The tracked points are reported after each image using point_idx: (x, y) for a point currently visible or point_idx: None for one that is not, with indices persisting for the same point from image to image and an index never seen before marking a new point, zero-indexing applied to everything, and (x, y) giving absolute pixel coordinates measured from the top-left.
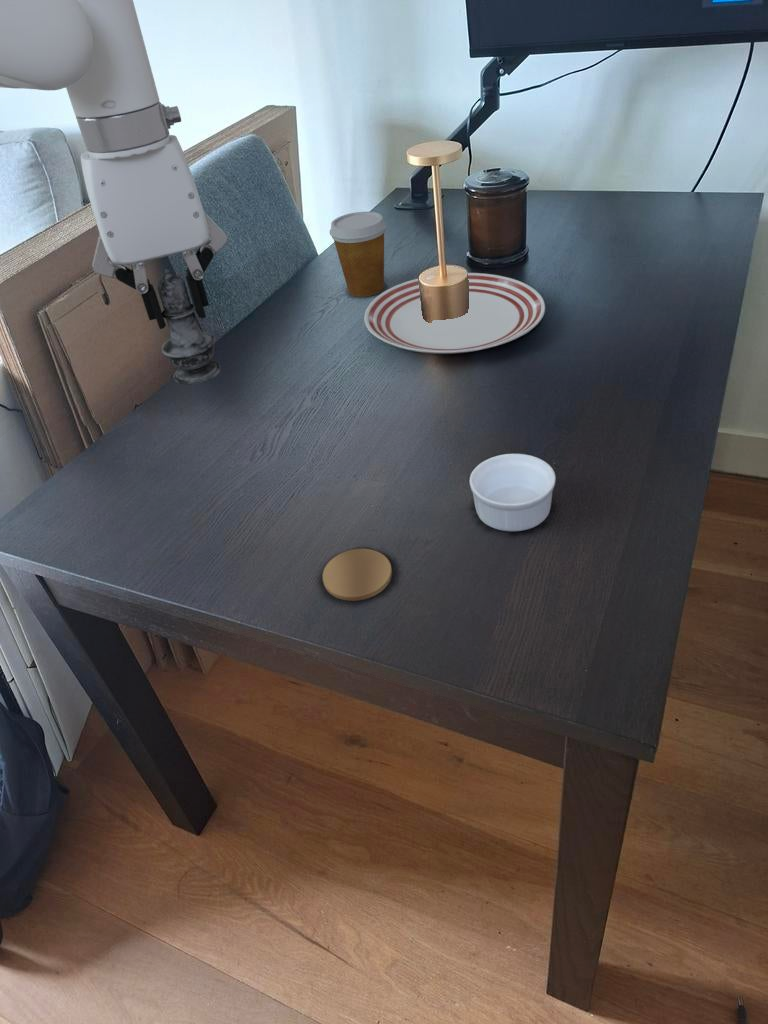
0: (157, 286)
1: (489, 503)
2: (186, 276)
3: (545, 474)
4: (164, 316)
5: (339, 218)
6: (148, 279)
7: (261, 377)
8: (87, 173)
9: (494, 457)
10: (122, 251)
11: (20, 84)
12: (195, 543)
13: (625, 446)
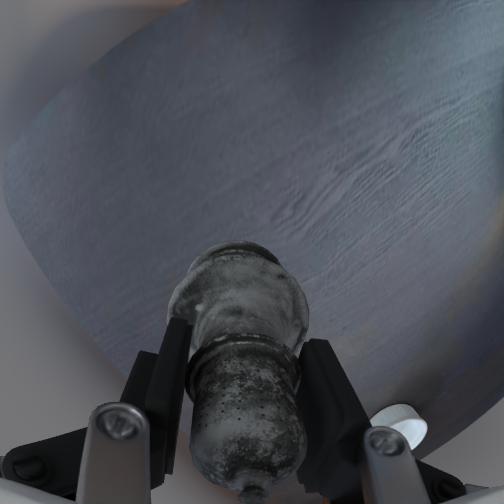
0: (191, 451)
1: None
2: (333, 434)
3: (416, 437)
4: (188, 394)
5: None
6: (162, 449)
7: (375, 39)
8: None
9: (414, 420)
10: None
11: None
12: (155, 322)
13: (474, 396)
